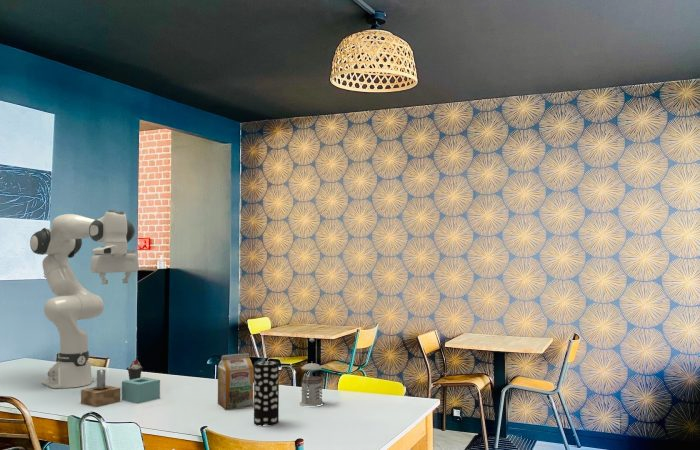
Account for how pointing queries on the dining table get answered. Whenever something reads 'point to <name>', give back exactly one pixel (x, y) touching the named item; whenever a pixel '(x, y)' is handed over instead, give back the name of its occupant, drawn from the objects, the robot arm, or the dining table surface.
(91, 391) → the socket
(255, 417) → the spotted tube
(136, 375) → the sundae
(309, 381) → the french press
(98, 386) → the peg
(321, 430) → the dining table surface
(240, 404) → the milk carton
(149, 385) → the teal storage box
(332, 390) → the dining table surface
